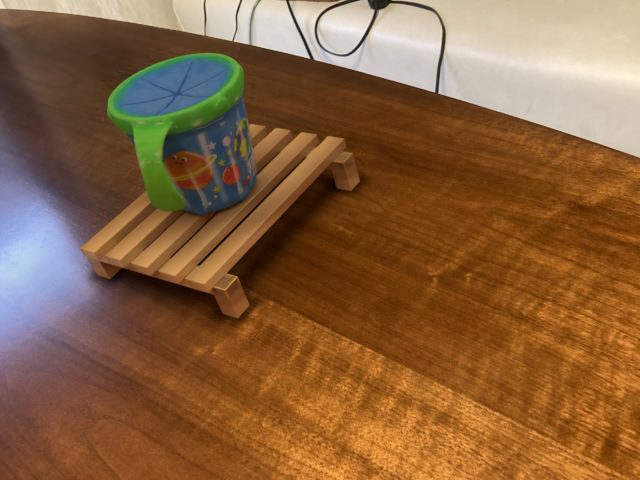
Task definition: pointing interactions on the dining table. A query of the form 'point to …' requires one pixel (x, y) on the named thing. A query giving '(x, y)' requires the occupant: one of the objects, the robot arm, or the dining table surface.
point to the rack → (219, 220)
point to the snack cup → (189, 131)
